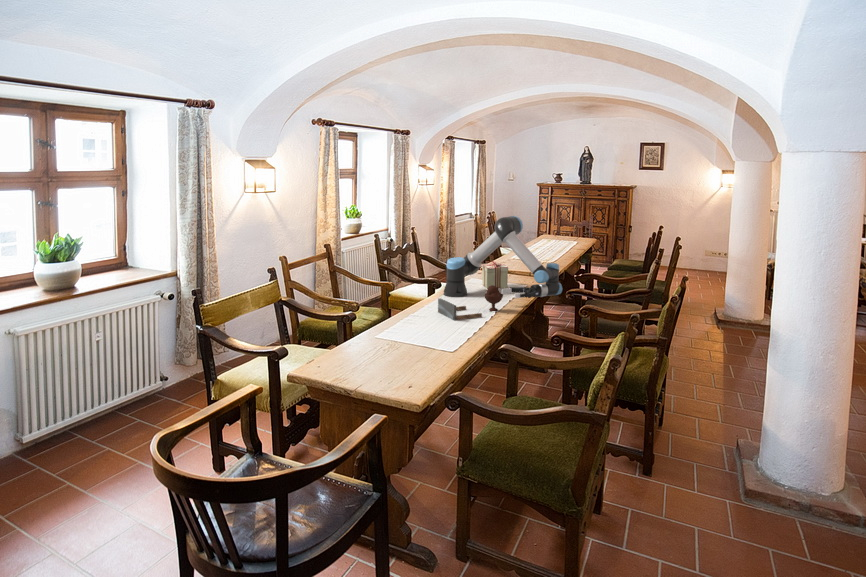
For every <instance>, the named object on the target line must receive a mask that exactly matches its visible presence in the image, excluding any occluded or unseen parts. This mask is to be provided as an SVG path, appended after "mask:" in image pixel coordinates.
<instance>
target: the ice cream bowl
mask: <svg viewBox="0 0 866 577" xmlns="http://www.w3.org/2000/svg"><path fill="white" fill-rule="evenodd" d="M483 295H484V299H485V300H486V301H487V302H488V303H489V304H491V307H490V308H489V309H488V311H489V310H490V311H489V312H492V311H496V312H498V311H499V309H498V308H496V304H499V303H500V302H501V301H502V300H503V297H504V294H502V292H501V291H500V290H499V289H498V288H497V287H496V286H494V285H491V286H489V287H488V289H487V290H486V291H485V293H484V294H483Z"/></svg>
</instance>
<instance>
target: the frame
mask: <svg viewBox="0 0 866 577" xmlns="http://www.w3.org/2000/svg"><path fill="white" fill-rule="evenodd" d="M437 302H438V303H437V313H439V314H441V315H443V316H445V317H447V318H449V319H451V320H453V321H459V320H467V319H476V318H482V316H483V313H482V312H478V313H470V314H461V315H460V314H459V315H457V311H465V310H466V311H467V306H466V305H461V306H457V305H456V304H454V303H452V302H449V301H447V300H446V299H443V298H442V297H441V298H439V297H438V298H437Z"/></svg>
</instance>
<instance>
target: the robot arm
mask: <svg viewBox="0 0 866 577" xmlns="http://www.w3.org/2000/svg"><path fill="white" fill-rule="evenodd" d="M523 228H524V224H523V221H522V219H521V218H520V217H519V216H517V215H510V216H503V217H500V218H498V219H497V220H496V221H495V223H494V232H493V233H492V234H491V235H489V237H487V238H486V239H485V240H484V241H483V242H482V243H481V244H480V245H478V247H477V248H475V249H474V251H472V252H468V253H467V254H466V255H465V256H464V257H460V256H458V257H457V256H455V257H451V258H448V259H447V261H446V284H445V286H444V290H443V295H444V296H445V297H451V298H457V297H458V298H460V297H461V298H462V297H466V296H468V291H467V286H466V284H465V281H466V280H465V279H466V277H467V276H472V275H475V274H476V273H477V272H478V271H480V270H479V269H480V268H481V267H480V266H481V265H482V262H484V261H485V260H486V259H487V258H488V257H490V255H491V254H492V253H494V251H496V249H498V248H499V247H500V246H501V245H502V244H504V243H505V244H506V245H507V246H508V247H509V248H510V249H511V251H513V253H514V254H515V255H516V256H517V257H518V258H519V260H520V261H521V262H522V263H523V264H524V266H526V268H528V269H529V271H530V272H531V273H532V274H533V278H534V281H535V283H538V284H531V286H530V287H526V286H520V287H519V286H517V287H516V286H515V287H514V286H510V287H509V288H508V287H507V288H501V294H503V295H504V294H513V293H514V298H513V299H523V298H526V299H527V298H528V299H531V298H539V297H540V298H543V297H549V296H551V297H552V296H558V295H561V294H562V292H563V286H562V284H561V282H559V276H560V264H559V263H555V262H548V263H546V266H544V265H543V264H542V263H541V262H540V261H539V260H538V258H537V257H536V256H535V255H534V254H533V252H532V251H531V250H530V249H529V248H528V247H527V245H525V243H524V242H523V241H522V240H521V239H520V238H519V237H518V235H519V234H520V233H522V231H523Z"/></svg>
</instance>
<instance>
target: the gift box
mask: <svg viewBox="0 0 866 577" xmlns="http://www.w3.org/2000/svg"><path fill="white" fill-rule="evenodd" d="M479 268H481V269H482V274H481V275H482V286H483V287H484V288H485V289H486V288H487V290H488V287H489V286H491V285H494V286H496V287H497V288H498V290H499V288H500V289H507V288H508V278H509V276H508V274H509V273H508V272H509V267H508V266H507V265H506V264H504V263H503V262H501V263H499V262H496V261H494V260H491V263H481V266H480V267H479Z"/></svg>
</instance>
